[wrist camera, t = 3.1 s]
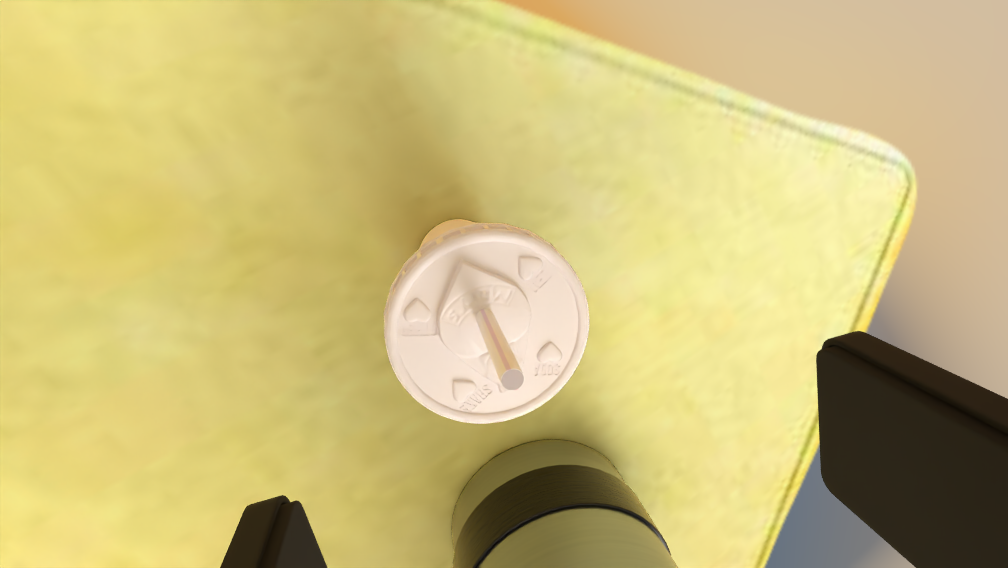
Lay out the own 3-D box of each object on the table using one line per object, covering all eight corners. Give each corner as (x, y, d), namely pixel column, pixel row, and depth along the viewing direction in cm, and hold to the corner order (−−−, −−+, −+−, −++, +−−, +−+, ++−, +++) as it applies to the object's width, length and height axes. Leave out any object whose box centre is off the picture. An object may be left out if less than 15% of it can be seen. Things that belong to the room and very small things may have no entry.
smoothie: (498, 168, 25) (610, 219, 12) (543, 293, 27) (680, 455, 14) (365, 220, 25) (326, 333, 11) (420, 343, 27) (442, 559, 13)
